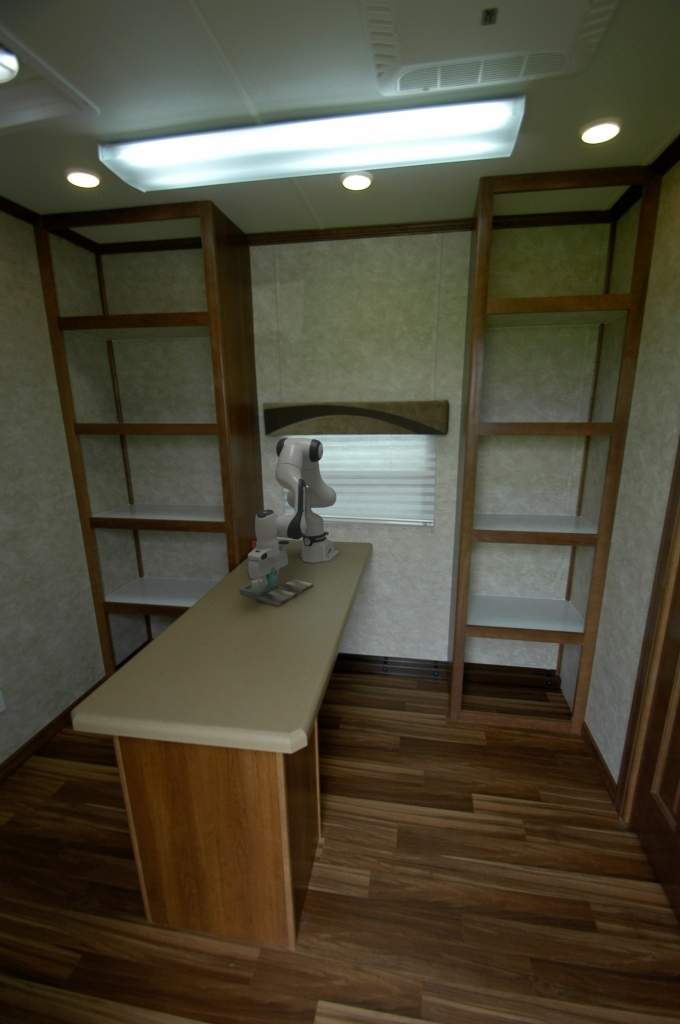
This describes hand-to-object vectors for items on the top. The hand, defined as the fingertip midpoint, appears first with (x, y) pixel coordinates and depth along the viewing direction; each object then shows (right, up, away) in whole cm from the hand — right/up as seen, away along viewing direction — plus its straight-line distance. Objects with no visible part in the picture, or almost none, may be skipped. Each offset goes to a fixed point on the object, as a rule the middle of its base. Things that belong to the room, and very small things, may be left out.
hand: (270, 581), depth 177 cm
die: (-7, -6, +12) cm, 15 cm away
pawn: (0, -2, 0) cm, 2 cm away
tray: (-7, -6, +13) cm, 16 cm away
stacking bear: (-10, -2, +32) cm, 33 cm away
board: (+5, -7, +10) cm, 13 cm away
